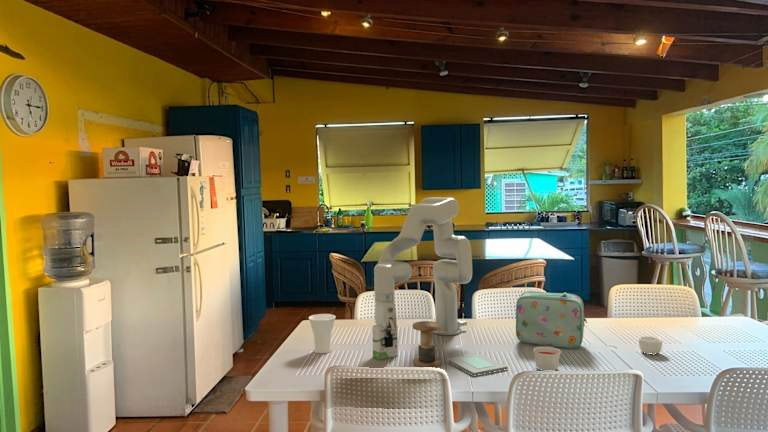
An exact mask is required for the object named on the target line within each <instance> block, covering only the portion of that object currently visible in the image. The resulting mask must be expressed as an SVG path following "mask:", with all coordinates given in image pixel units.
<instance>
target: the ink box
mask: <svg viewBox="0 0 768 432" xmlns="http://www.w3.org/2000/svg"><path fill="white" fill-rule="evenodd" d="M387 328H390V326H389V327H387ZM388 331H390V330H387V332H388ZM398 333H399V332H398V326H397V327H396V328H395V331H394V334H393V347H388V348H385V338H384V337H386V336H385V329H384V328H382V327H381V326H379V325H376V324H374V325H372V357H373V358H375V359H378V360H379V361H380V360H385V359H389V358H393V357H398V356H399V355H398V353H399V349H398V346H399V344H398V342H399V341H398V338H399V337H398Z"/></svg>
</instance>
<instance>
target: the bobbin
mask: <svg viewBox="0 0 768 432" xmlns="http://www.w3.org/2000/svg"><path fill="white" fill-rule="evenodd" d="M440 328H441V324H440V323H437V322H436V321H429V320H425V321H424V320H423V321H415V322H413V323H412V329H413V330H415V331H420V345H418V356H416V357H414V358H413V360H412V364H413V365H414V366H416V367H418V366H422V367H421V368H423V367H432V368H438V367H440V366H441V364H442V360H441V358H439V357H437V356H436V345H434V333H433V331H435V330H439V329H440Z"/></svg>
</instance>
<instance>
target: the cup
mask: <svg viewBox="0 0 768 432" xmlns="http://www.w3.org/2000/svg"><path fill="white" fill-rule="evenodd" d="M308 320H309V323H310V327H311V329H312V333H313V337H314V353H315V354H328V353H330V352H332V347H331V346H332V345H331V343H332V342H331V339H332V331H333V328H334V324H335V321H336V315H334V314H331V313H318V314H316V313H315V314H312V315H310V316H309V317H308Z"/></svg>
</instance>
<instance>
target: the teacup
mask: <svg viewBox="0 0 768 432" xmlns="http://www.w3.org/2000/svg"><path fill="white" fill-rule="evenodd" d="M638 347H639V350H640V351H641V352H642V353H643V352H645V353H652V354H655V353H658V354H659V353H661V352H662V351H661V350H662V347H663V341H662V339H661V338H659V337H657V336H656V337H654V336H648V335H643V336H640V337H638ZM645 353H644V354H645Z"/></svg>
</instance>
